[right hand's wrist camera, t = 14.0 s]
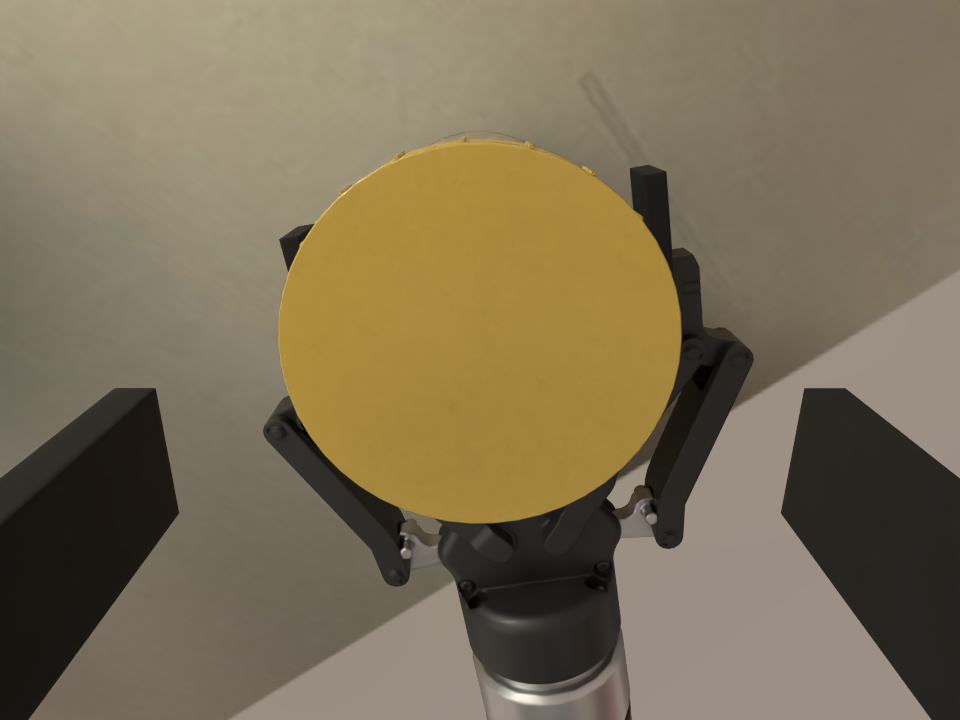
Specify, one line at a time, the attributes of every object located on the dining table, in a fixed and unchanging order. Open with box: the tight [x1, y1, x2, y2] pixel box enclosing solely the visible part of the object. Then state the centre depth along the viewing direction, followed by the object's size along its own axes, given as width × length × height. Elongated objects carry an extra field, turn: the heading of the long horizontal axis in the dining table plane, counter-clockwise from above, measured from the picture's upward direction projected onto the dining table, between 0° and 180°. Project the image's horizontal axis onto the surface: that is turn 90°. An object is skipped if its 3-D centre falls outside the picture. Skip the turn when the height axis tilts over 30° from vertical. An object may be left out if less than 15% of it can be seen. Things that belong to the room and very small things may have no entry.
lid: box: [278, 136, 682, 523], centre depth 19 cm, size 11×11×2 cm
